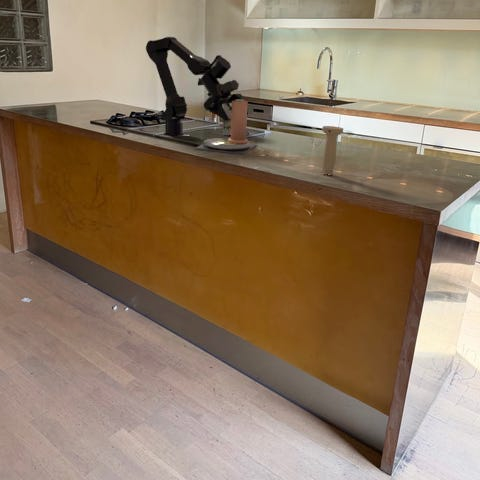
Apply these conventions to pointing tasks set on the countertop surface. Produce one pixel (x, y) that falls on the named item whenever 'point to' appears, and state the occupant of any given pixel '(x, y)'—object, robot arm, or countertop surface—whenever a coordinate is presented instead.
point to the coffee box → (227, 123)
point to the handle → (330, 148)
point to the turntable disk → (224, 144)
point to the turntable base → (242, 151)
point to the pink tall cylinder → (238, 122)
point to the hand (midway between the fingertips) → (235, 119)
